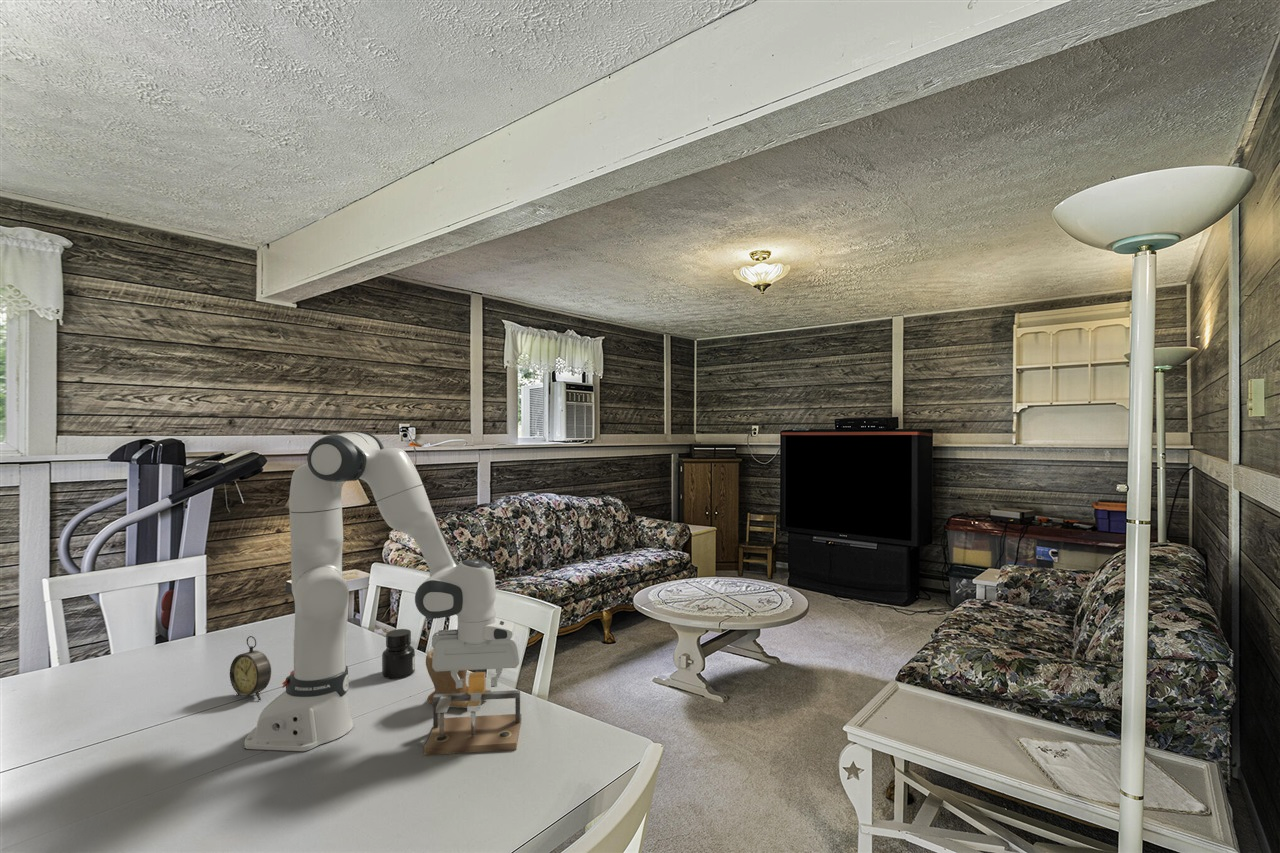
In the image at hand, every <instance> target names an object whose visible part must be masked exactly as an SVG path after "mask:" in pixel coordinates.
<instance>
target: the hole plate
mask: <svg viewBox="0 0 1280 853" xmlns="http://www.w3.org/2000/svg"><path fill="white" fill-rule="evenodd" d="M470 698H471V695H469V693H453V694H435V695H434V697H433V704H432V715H433V716H432V718H433V719H432V720H433V721H432V722H433V723H432V725H433V728H432V730H431V732H430V734H429V736H428V739H427V741H426V744H424V748H423V756H434V755H435V756H436V755H449V754H450V755H451V754H464V753H465V754H467V753H482V752H483V753H484V752H498V751H512V750H513V751H515V750H517V749H518V743H519V742H518V741H519V737H520V731H519V730H521V725H522V713H521V690H520V689H515V690H498V691H497V690H495V691H492V690H491V692H484V694H482V700H485V701H487V700H505V699H506V700H507V699H515V707H514V708H515V713H512V714H511V713H510V714H495V715H494V714H493V715H476V734H475V735H473V736H472V735H471V716H457V717H445V714H447V713H448V710H449V708H450V704H451V702H452V701H470ZM520 724H521V725H520ZM518 736H519V737H518Z"/></svg>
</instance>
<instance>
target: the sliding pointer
mask: <svg viewBox="0 0 1280 853" xmlns="http://www.w3.org/2000/svg"><path fill="white" fill-rule="evenodd" d="M486 675H487V674H486V671H476V672H470V673H469V676H468V687H469V695H471V698H470V701H469V704H468V706H467V708H466V710H467V711H466V712H467V713H469V712H470V717H471V735H472V736H473V735H475V734H476V716H477V715H476V712H479V710H480V707H481V705H482V703H481V701H482V694H484V692H485V690H487V689H486V688H487V687H486V680H487V679H486V677H487V676H486Z"/></svg>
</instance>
